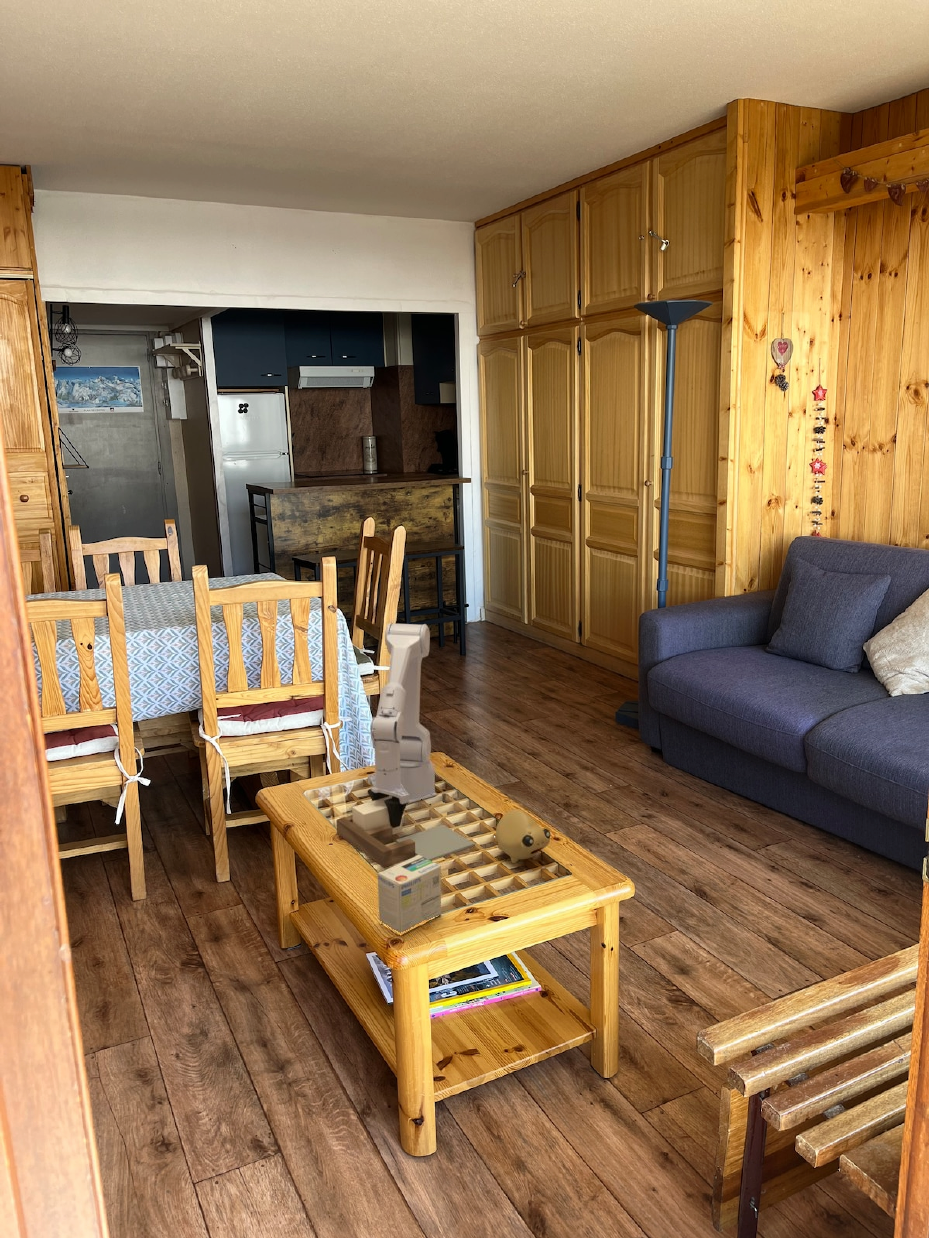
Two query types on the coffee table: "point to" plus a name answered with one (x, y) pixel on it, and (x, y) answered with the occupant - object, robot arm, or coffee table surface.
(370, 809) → the off-white block
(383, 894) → the light bulb box
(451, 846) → the grey mat
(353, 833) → the walnut rack
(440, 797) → the coffee table surface
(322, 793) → the coffee table surface
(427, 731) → the robot arm
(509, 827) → the tan toy animal
